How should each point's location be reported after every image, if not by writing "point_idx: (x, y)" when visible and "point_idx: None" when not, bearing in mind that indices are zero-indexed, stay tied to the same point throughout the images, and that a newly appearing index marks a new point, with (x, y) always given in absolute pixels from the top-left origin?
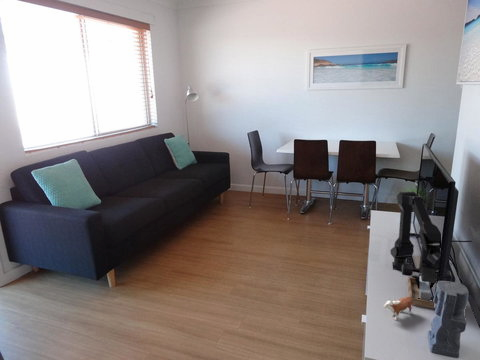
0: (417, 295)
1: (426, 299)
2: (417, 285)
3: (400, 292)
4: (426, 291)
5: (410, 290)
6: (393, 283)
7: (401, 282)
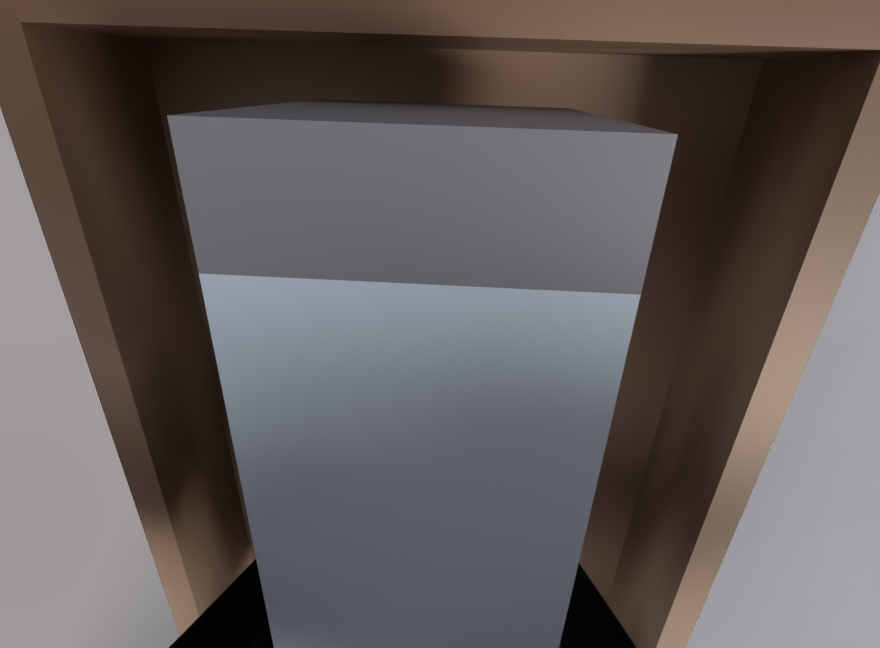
0: None
1: (406, 105)
2: (607, 610)
3: (827, 422)
4: (388, 307)
5: (762, 435)
6: (837, 609)
7: (696, 643)
